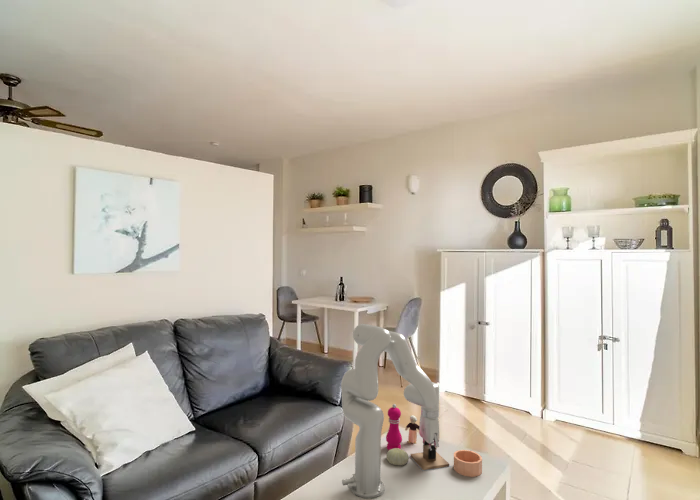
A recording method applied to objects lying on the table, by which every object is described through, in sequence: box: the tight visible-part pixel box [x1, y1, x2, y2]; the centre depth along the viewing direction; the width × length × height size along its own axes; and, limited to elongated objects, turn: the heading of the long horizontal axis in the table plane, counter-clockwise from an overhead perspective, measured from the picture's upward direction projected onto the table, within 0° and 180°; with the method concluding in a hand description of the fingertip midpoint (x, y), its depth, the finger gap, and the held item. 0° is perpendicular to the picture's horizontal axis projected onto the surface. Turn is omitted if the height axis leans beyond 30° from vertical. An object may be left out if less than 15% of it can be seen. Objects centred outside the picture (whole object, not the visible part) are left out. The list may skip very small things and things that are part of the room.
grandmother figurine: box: [404, 415, 420, 445], centre depth 187 cm, size 8×4×13 cm, turn 81°
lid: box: [409, 445, 450, 471], centre depth 169 cm, size 12×12×6 cm
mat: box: [408, 455, 452, 472], centre depth 169 cm, size 13×13×1 cm
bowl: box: [453, 449, 483, 478], centre depth 163 cm, size 11×11×6 cm
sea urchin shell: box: [386, 448, 410, 466], centre depth 170 cm, size 9×8×8 cm
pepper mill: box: [385, 403, 403, 451], centre depth 181 cm, size 7×7×20 cm
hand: (429, 455), depth 169 cm, fingers closed on lid, 4 cm apart
